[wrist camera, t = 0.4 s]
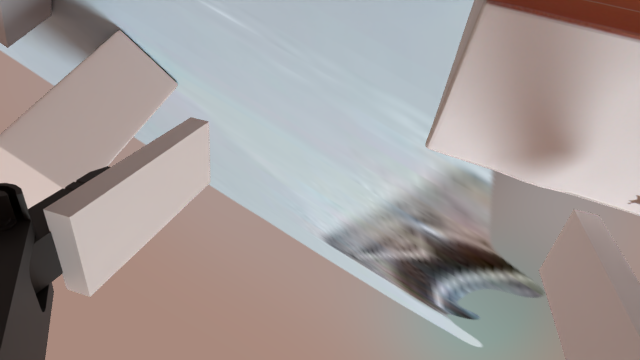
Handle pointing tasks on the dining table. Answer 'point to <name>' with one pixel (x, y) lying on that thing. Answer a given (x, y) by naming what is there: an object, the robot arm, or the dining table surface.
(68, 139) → the milk carton
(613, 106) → the small box
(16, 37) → the tray
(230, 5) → the dining table surface
